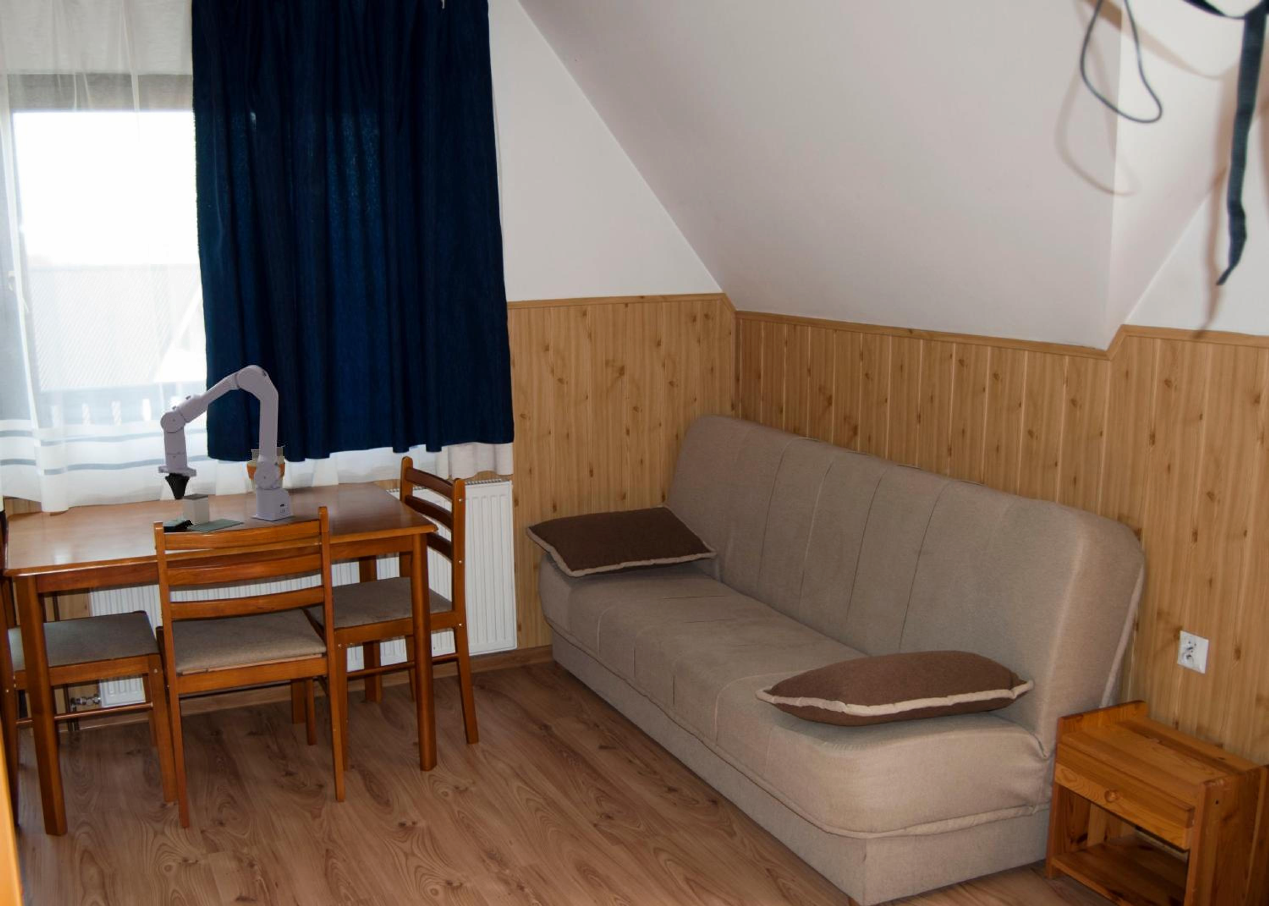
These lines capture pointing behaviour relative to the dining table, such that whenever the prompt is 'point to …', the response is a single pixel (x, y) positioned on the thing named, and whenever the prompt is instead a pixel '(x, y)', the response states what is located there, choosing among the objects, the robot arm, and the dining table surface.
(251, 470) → the reusable coffee cup
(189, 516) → the gray block
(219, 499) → the dining table surface
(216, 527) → the dice mat
